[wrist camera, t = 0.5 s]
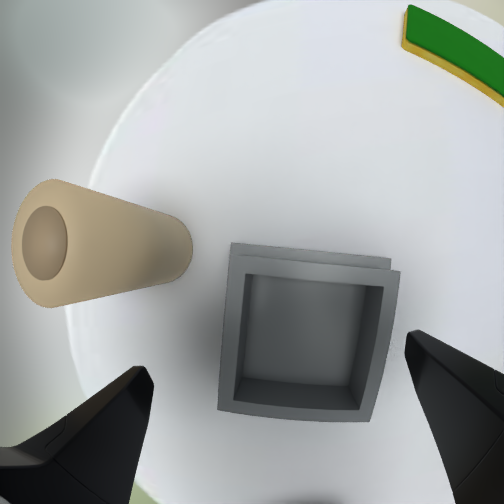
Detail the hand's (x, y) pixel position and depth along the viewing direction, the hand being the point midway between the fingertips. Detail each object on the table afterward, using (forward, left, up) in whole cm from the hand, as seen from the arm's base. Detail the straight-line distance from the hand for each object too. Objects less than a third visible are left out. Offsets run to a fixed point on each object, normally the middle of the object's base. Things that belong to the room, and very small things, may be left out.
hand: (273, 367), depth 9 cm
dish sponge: (+27, -18, -14) cm, 35 cm away
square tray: (-2, -2, -13) cm, 13 cm away
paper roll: (+3, +10, -13) cm, 17 cm away
